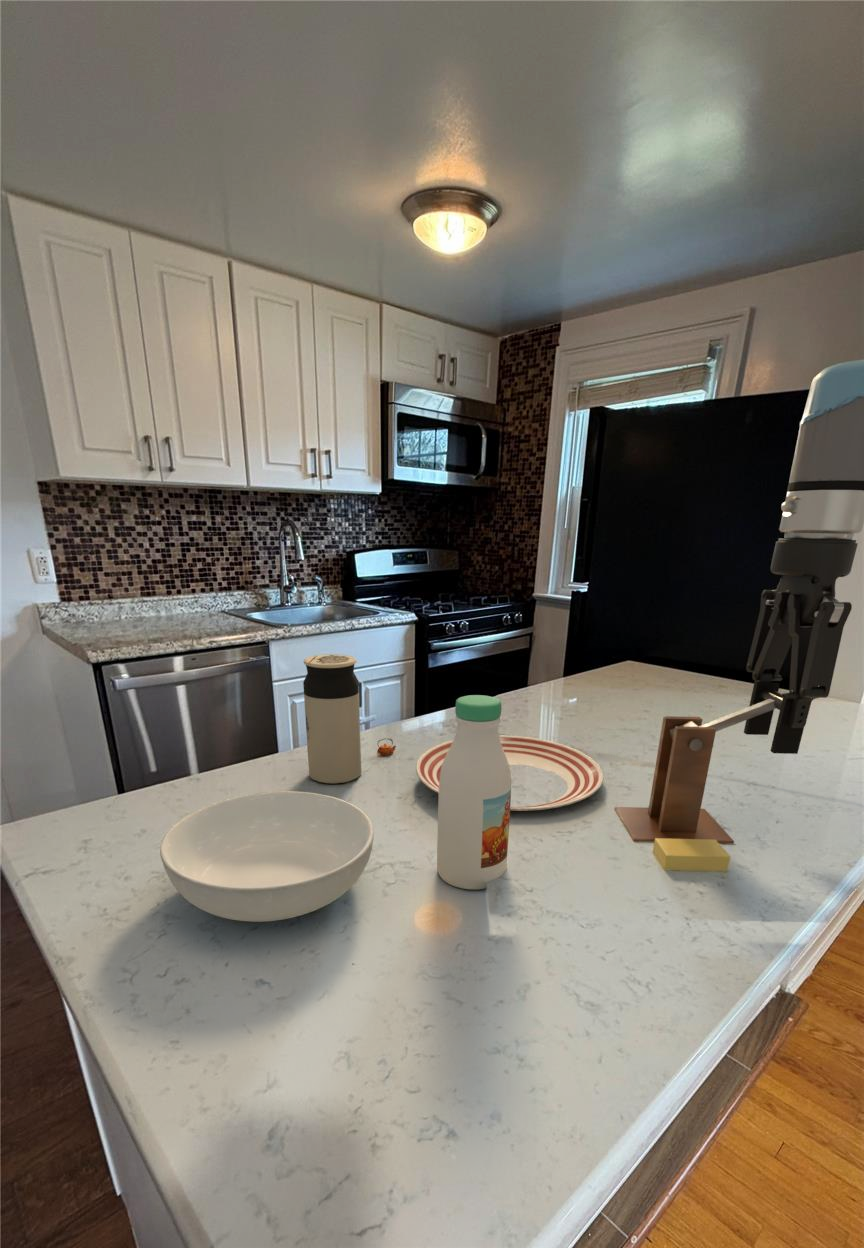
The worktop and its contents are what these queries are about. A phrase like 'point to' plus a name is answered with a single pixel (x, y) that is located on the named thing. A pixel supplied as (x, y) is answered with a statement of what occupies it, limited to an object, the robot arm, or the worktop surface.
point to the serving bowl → (268, 854)
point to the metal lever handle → (744, 711)
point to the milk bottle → (474, 798)
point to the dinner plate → (533, 752)
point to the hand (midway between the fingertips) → (769, 742)
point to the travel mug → (332, 718)
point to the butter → (691, 854)
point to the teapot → (385, 749)
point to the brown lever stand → (677, 788)
